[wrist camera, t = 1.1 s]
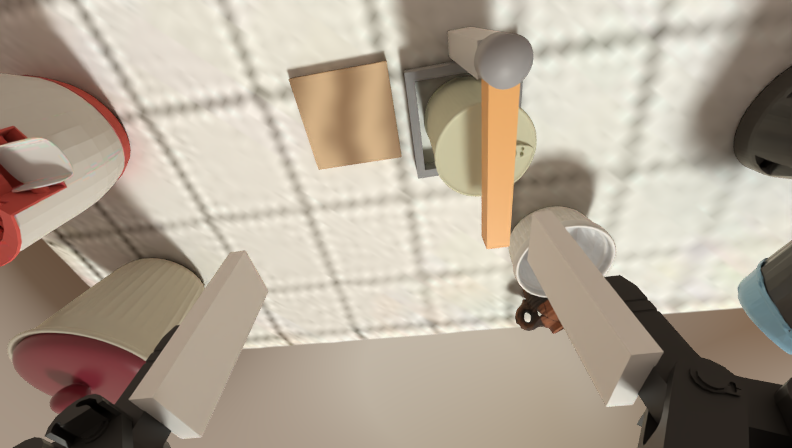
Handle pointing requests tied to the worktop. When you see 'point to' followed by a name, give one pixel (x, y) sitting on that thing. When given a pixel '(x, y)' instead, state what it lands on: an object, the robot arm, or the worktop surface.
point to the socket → (463, 54)
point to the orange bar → (500, 127)
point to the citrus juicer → (52, 157)
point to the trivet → (348, 115)
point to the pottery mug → (531, 307)
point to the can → (468, 135)
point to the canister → (105, 332)
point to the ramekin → (583, 232)
